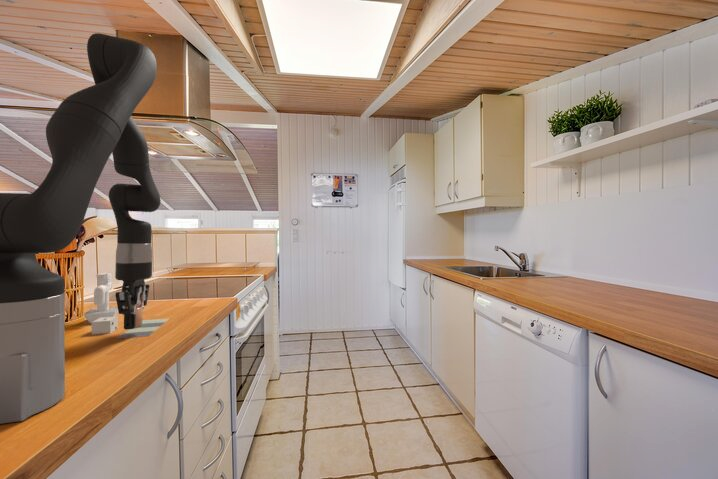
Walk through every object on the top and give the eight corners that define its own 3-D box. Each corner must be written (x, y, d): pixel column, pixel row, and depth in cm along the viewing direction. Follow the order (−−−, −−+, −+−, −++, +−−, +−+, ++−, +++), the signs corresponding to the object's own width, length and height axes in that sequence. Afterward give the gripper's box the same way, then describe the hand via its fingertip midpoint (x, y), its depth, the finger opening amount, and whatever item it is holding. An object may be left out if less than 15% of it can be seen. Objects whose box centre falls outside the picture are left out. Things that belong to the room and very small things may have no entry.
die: (110, 335, 76) (110, 320, 76) (91, 337, 75) (91, 321, 75) (117, 330, 80) (118, 316, 80) (100, 332, 78) (100, 317, 78)
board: (148, 338, 74) (148, 335, 74) (115, 340, 72) (115, 338, 72) (169, 320, 89) (169, 318, 89) (143, 322, 87) (143, 320, 87)
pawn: (138, 328, 73) (138, 298, 73) (121, 329, 72) (122, 299, 72) (144, 324, 77) (144, 296, 77) (128, 325, 76) (128, 296, 76)
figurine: (81, 328, 81) (81, 275, 81) (92, 319, 89) (92, 271, 89) (114, 324, 84) (114, 274, 84) (121, 316, 93) (122, 270, 92)
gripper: (139, 262, 69) (138, 333, 69) (160, 258, 82) (159, 318, 82) (101, 263, 67) (100, 336, 67) (129, 259, 80) (128, 320, 80)
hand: (133, 326), depth 74 cm, fingers closed on pawn, 3 cm apart
